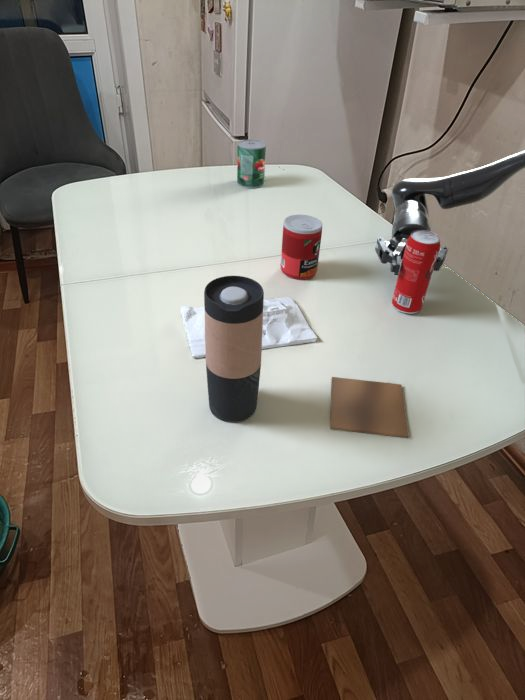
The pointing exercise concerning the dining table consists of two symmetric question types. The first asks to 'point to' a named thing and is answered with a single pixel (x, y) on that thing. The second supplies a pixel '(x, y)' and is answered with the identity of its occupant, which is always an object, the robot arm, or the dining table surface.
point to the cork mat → (368, 407)
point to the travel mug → (233, 346)
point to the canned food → (300, 246)
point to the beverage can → (415, 271)
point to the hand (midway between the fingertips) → (411, 272)
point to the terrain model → (278, 328)
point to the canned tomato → (251, 163)
